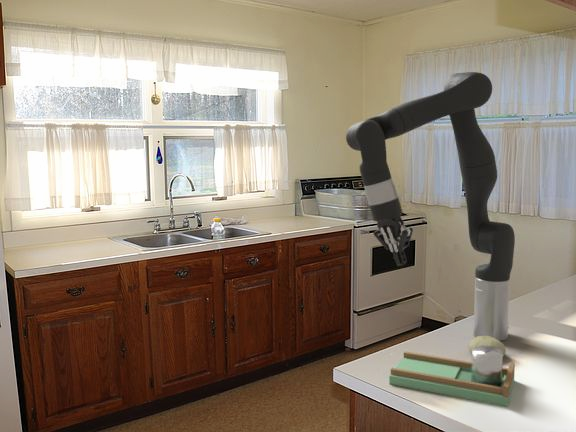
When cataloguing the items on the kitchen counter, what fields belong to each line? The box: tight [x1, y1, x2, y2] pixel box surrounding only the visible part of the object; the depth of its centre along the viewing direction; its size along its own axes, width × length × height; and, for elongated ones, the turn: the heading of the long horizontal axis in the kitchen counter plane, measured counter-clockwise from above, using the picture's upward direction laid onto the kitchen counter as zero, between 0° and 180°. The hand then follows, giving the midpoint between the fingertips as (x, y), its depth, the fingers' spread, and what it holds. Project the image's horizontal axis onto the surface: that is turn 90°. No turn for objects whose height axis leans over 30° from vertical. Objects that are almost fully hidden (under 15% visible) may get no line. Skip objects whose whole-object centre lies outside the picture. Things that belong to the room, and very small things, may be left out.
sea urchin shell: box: [468, 336, 507, 357], centre depth 144 cm, size 9×8×8 cm
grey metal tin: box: [471, 346, 504, 387], centre depth 125 cm, size 7×7×8 cm
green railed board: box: [388, 351, 516, 407], centre depth 129 cm, size 14×26×4 cm, turn 62°
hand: (402, 264), depth 139 cm, fingers closed
